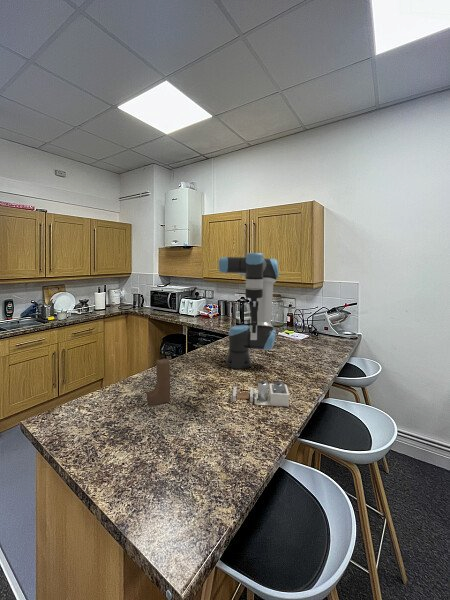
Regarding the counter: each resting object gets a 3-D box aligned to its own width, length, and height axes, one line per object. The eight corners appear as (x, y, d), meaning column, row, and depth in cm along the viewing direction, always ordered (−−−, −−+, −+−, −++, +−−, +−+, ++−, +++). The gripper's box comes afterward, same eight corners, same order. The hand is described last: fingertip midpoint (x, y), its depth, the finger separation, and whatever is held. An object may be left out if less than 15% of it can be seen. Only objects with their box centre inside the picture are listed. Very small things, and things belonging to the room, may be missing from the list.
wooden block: (149, 407, 116) (148, 365, 114) (146, 402, 120) (145, 361, 118) (170, 401, 121) (169, 361, 119) (166, 397, 125) (166, 358, 123)
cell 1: (257, 396, 124) (258, 379, 123) (267, 397, 123) (268, 379, 122) (257, 401, 119) (258, 383, 118) (267, 402, 119) (268, 383, 118)
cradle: (233, 394, 128) (233, 386, 128) (252, 395, 127) (252, 387, 127) (232, 404, 119) (232, 395, 119) (252, 405, 119) (253, 396, 118)
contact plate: (236, 397, 125) (237, 392, 125) (249, 398, 125) (249, 392, 124) (236, 400, 122) (236, 395, 122) (249, 401, 121) (249, 396, 121)
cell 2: (273, 397, 123) (273, 379, 122) (283, 397, 123) (283, 380, 122) (273, 402, 119) (274, 384, 118) (284, 402, 118) (285, 384, 117)
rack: (254, 396, 127) (254, 382, 126) (285, 398, 126) (286, 384, 125) (254, 407, 117) (254, 392, 116) (288, 409, 116) (289, 394, 115)
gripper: (245, 285, 136) (244, 327, 139) (245, 292, 111) (244, 343, 115) (261, 285, 135) (259, 328, 139) (264, 292, 111) (263, 344, 114)
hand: (253, 335), depth 127 cm, fingers open, 13 cm apart
